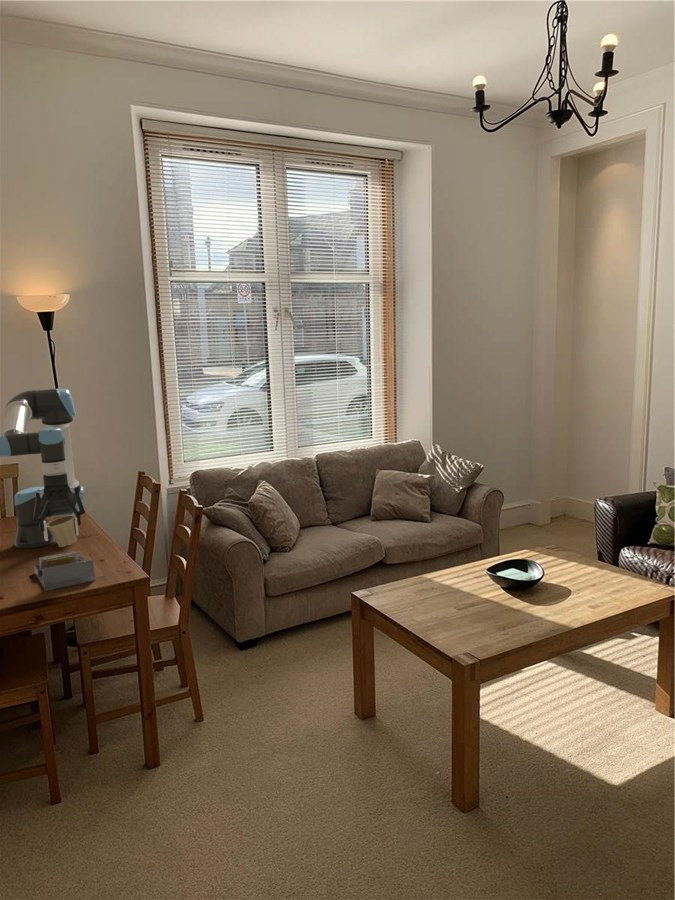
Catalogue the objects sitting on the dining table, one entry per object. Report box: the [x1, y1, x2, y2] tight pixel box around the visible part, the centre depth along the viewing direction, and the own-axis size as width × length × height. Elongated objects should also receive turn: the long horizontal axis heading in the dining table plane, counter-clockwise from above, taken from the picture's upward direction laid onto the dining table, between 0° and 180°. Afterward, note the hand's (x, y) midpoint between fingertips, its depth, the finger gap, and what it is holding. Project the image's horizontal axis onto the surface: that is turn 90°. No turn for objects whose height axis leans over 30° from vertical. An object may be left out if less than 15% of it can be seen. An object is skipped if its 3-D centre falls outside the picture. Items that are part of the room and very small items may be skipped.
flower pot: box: [47, 514, 78, 548], centre depth 228 cm, size 9×9×9 cm
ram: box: [38, 550, 80, 570], centre depth 238 cm, size 5×13×4 cm, turn 122°
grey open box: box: [33, 554, 96, 592], centre depth 233 cm, size 22×16×8 cm
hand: (61, 537), depth 228 cm, fingers closed on flower pot, 9 cm apart
